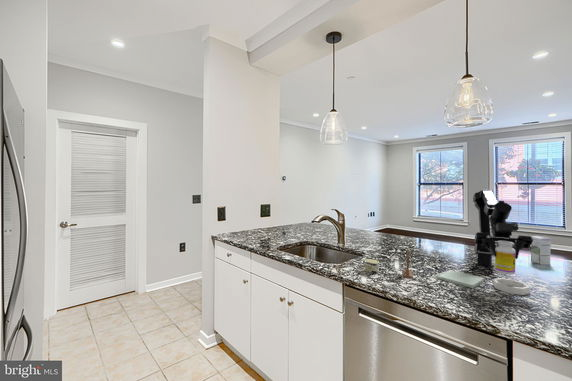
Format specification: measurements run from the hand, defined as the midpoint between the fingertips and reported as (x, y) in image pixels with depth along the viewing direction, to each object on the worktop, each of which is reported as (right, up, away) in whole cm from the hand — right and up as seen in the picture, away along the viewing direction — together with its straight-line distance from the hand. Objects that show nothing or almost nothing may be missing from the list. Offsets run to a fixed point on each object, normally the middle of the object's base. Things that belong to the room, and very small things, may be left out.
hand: (505, 257), depth 107 cm
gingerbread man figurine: (-32, -13, +17) cm, 39 cm away
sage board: (-11, -13, +11) cm, 20 cm away
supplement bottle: (+1, -7, +1) cm, 7 cm away
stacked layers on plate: (-48, -13, +21) cm, 54 cm away
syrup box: (+50, -13, +36) cm, 63 cm away
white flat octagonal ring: (+3, -13, +1) cm, 13 cm away
